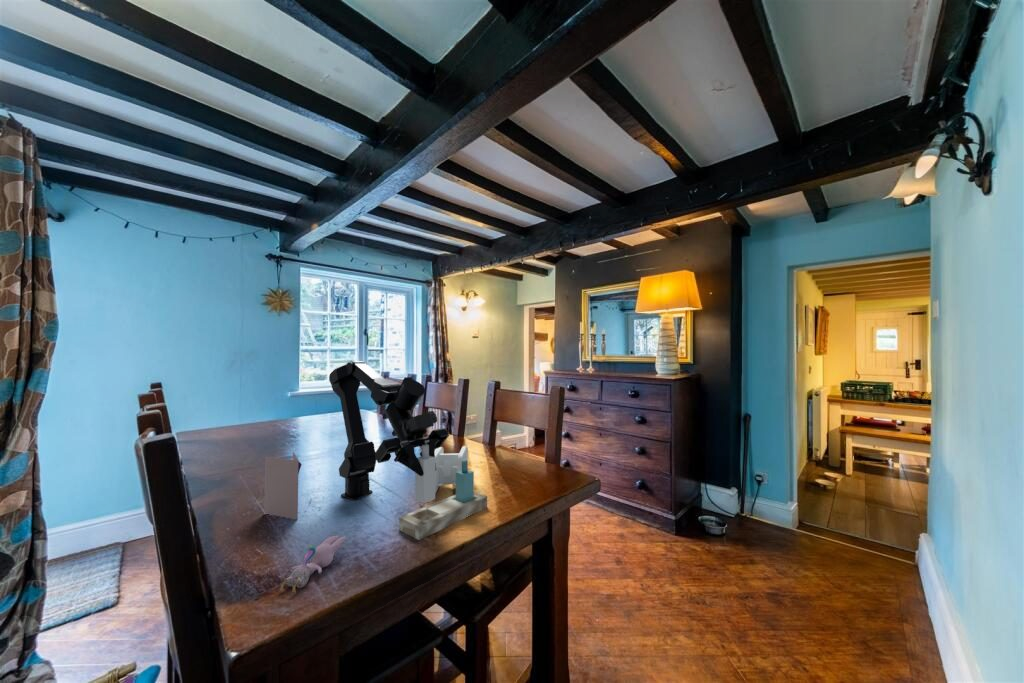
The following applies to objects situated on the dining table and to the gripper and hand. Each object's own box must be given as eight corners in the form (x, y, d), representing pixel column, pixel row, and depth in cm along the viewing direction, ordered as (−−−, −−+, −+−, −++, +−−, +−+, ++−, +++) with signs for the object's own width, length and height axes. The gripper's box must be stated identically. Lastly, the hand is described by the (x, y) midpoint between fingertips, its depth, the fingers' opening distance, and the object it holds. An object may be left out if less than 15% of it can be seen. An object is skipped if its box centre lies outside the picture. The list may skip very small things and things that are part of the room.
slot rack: (419, 540, 81) (419, 526, 81) (399, 529, 86) (399, 517, 86) (487, 507, 98) (487, 496, 98) (467, 500, 103) (467, 489, 103)
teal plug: (464, 513, 95) (464, 463, 95) (455, 510, 97) (455, 461, 97) (473, 509, 97) (473, 460, 98) (465, 505, 99) (464, 458, 100)
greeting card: (301, 519, 92) (302, 459, 92) (266, 527, 87) (267, 465, 88) (295, 504, 101) (296, 450, 102) (263, 511, 96) (264, 455, 97)
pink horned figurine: (303, 603, 62) (356, 545, 77) (300, 572, 62) (353, 519, 76) (273, 599, 64) (330, 542, 78) (269, 568, 63) (327, 516, 77)
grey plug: (415, 499, 87) (415, 445, 87) (426, 495, 90) (426, 443, 90) (423, 503, 85) (424, 447, 85) (435, 499, 87) (435, 445, 88)
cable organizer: (462, 497, 106) (462, 457, 106) (426, 497, 106) (426, 457, 106) (468, 479, 121) (468, 444, 121) (436, 479, 121) (436, 444, 121)
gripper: (382, 405, 83) (410, 462, 76) (444, 398, 98) (473, 445, 90) (364, 435, 88) (388, 491, 81) (426, 423, 102) (452, 470, 95)
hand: (428, 473), depth 87 cm, fingers closed on grey plug, 3 cm apart
